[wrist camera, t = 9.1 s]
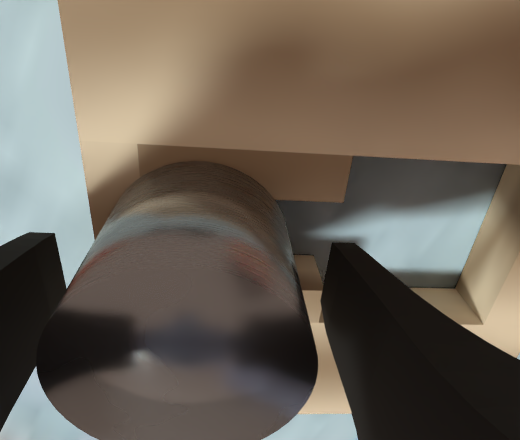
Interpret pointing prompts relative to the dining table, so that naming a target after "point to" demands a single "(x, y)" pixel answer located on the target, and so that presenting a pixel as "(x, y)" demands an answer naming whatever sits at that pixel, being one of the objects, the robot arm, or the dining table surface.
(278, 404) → the keyhole peg
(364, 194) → the dining table surface
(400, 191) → the dining table surface
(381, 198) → the dining table surface
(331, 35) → the keyhole plate
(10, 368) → the robot arm
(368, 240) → the dining table surface
